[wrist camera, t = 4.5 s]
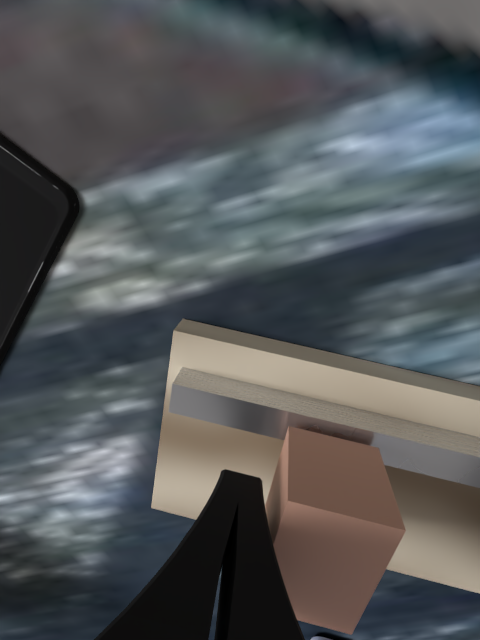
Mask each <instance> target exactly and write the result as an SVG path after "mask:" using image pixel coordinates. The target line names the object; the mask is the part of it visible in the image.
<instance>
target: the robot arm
mask: <svg viewBox="0 0 480 640" xmlns="http://www.w3.org/2000/svg"><path fill="white" fill-rule="evenodd" d="M222 564H223V565H222ZM221 568H222V574H221V584H220V593H219V603H218V612H217V622H216V631H215V639H214V640H305V639H304V636H303V634H302V631H301V629H300V626H299V624H298V621H297V618H296V616H295V613H294V610H293V608H292V605H291V602H290V599H289V596H288V593H287V590H286V587H285V584H284V581H283V578H282V575H281V571H280V568H279V565H278V561H277V558H276V554H275V550H274V546H273V542H272V538H271V534H270V529H269V525H268V520H267V515H266V509H265V503H264V496H263V485H262V480H261V479H260V478H259V477H255V476H251V475H247V474H243V473H239V472H235V471H231V470H227V469H224V470H222V471H221V473H220V477H219V479H218V482H217V484H216V486H215V488H214V490H213V492H212V494H211V496H210V498H209V500H208V501H207V503H206V505H205V506H204V508H203V510H202V511H201V513H200V515H199V516H198V518H197V519H196V521H195V523H194V524H193V526H192V527H191V529H190V530H189V531H188V533H187V534H186V536H185V537H184V538H183V540H182V541H181V543H180V544H179V546H178V547H177V548H176V550H175V551H174V552H173V553H172V555H171V556H170V557H169V559H168V560H167V561H166V562H165V564H164V565H163V566H162V567H161V569H160V570H159V571H158V572H157V574H156V575H155V576H154V577H153V578H152V579H151V581H150V582H149V583H148V584H147V585H146V586H145V587H144V588H143V590H142V591H141V592H140V593H139V594H138V595H137V596H136V598H135V599H134V600H133V601H132V602H131V603H130V604H129V605H128V606H127V607H126V608H125V609H124V610H123V611H122V612H121V613H120V614H119V615H118V616H117V617H116V618H115V619H114V620H113V621H112V622H111V623H110V624H109V625H108V626H107V627H106V628H105V629H104V630H103V631H102V632H101V633H100V634H99V635H98V636H97V637H96V638H95V639H94V640H208V638H209V632H210V626H211V620H212V614H213V608H214V603H215V597H216V591H217V585H218V579H219V575H220V572H221ZM311 640H332V639H329V638H325V637H321V636H315V637H312V638H311Z"/></svg>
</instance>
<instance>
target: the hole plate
mask: <svg viewBox="0 0 480 640" xmlns="http://www.w3.org/2000/svg"><path fill="white" fill-rule="evenodd" d="M182 367H184V368H189V369H193V370H197V371H201V372H206V373H210V374H214V375H218V376H222V377H227V378H231V379H235V380H239V381H244V382H248V383H252V384H256V385H261V386H265V387H269V388H273V389H278V390H282V391H286V392H290V393H295V394H299V395H303V396H307V397H311V398H316V399H320V400H324V401H328V402H333V403H337V404H341V405H345V406H350V407H354V408H358V409H362V410H367V411H371V412H375V413H379V414H383V415H388V416H392V417H396V418H400V419H405V420H409V421H413V422H417V423H422V424H426V425H430V426H434V427H439V428H443V429H447V430H451V431H456V432H460V433H464V434H468V435H472V436H477V437H480V386H476V385H471V384H467V383H463V382H458V381H454V380H450V379H445V378H441V377H436V376H432V375H428V374H423V373H419V372H414V371H410V370H406V369H401V368H397V367H393V366H388V365H384V364H379V363H375V362H371V361H366V360H362V359H357V358H353V357H349V356H344V355H340V354H336V353H331V352H327V351H322V350H318V349H314V348H309V347H305V346H300V345H296V344H292V343H287V342H283V341H279V340H274V339H270V338H265V337H261V336H257V335H252V334H248V333H243V332H239V331H235V330H230V329H226V328H222V327H217V326H213V325H208V324H204V323H200V322H195V321H191V320H186V319H182V321H181V322H180V323H179V324H178V326H177V327H176V328H175V329H174V332H173V339H172V347H171V355H170V363H169V371H168V379H167V387H166V395H165V403H164V410H163V418H162V426H161V434H160V442H159V450H158V458H157V466H156V474H155V482H154V489H153V497H152V505H151V508H154V509H157V510H161V511H165V512H169V513H173V514H177V515H180V516H184V517H188V518H192V519H197V518H198V516H199V515H200V513H201V511H202V510H203V508H204V506H205V505H206V503H207V501H208V500H209V498H210V496H211V494H212V492H213V490H214V488H215V486H216V484H217V482H218V479H219V477H220V473H221V471H222V470H224V469H227V470H231V471H235V472H239V473H243V474H247V475H251V476H255V477H259V478H260V479H261V480H262V485H263V496H264V503H265V504H266V501H267V498H268V494H269V491H270V488H271V484H272V481H273V477H274V474H275V471H276V467H277V464H278V460H279V457H280V454H281V450H282V447H283V444H284V440H281V439H277V438H272V437H268V436H264V435H260V434H256V433H252V432H248V431H244V430H240V429H236V428H231V427H227V426H223V425H219V424H215V423H211V422H207V421H203V420H199V419H195V418H190V417H186V416H182V415H178V414H174V413H170V412H169V405H170V397H171V390H172V383H173V382H174V380H175V378H176V377H177V375H178V373H179V372H180V370H181V368H182ZM384 466H385V469H386V472H387V475H388V478H389V481H390V484H391V487H392V490H393V493H394V496H395V499H396V502H397V505H398V508H399V511H400V514H401V517H402V520H403V523H404V526H405V529H406V532H405V534H404V535H403V537H402V539H401V541H400V543H399V545H398V547H397V549H396V551H395V553H394V555H393V556H392V558H391V560H390V562H389V564H388V566H387V568H386V569H388V570H392V571H395V572H399V573H403V574H407V575H411V576H415V577H418V578H422V579H426V580H430V581H434V582H438V583H442V584H445V585H449V586H453V587H457V588H461V589H465V590H468V591H472V592H476V593H480V488H477V487H473V486H469V485H465V484H461V483H457V482H453V481H449V480H445V479H441V478H436V477H432V476H428V475H424V474H420V473H416V472H412V471H408V470H404V469H400V468H395V467H391V466H387V465H384Z"/></svg>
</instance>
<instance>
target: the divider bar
mask: <svg viewBox="0 0 480 640" xmlns="http://www.w3.org/2000/svg"><path fill="white" fill-rule="evenodd" d="M169 412H170V413H174V414H178V415H182V416H186V417H190V418H195V419H199V420H203V421H207V422H211V423H215V424H219V425H223V426H227V427H231V428H236V429H240V430H244V431H248V432H252V433H256V434H260V435H264V436H268V437H272V438H277V439H281V440H285V437H286V433H287V430H288V427H289V426H290V427H294V428H299V429H303V430H307V431H311V432H315V433H319V434H323V435H328V436H332V437H336V438H340V439H344V440H348V441H352V442H357V443H361V444H365V445H369V446H373V447H377V448H379V450H380V454H381V457H382V460H383V463H384V465H387V466H391V467H395V468H400V469H404V470H408V471H412V472H416V473H420V474H424V475H428V476H432V477H436V478H441V479H445V480H449V481H453V482H457V483H461V484H465V485H469V486H473V487H477V488H480V437H477V436H472V435H468V434H464V433H460V432H456V431H451V430H447V429H443V428H439V427H434V426H430V425H426V424H422V423H417V422H413V421H409V420H405V419H400V418H396V417H392V416H388V415H383V414H379V413H375V412H371V411H367V410H362V409H358V408H354V407H350V406H345V405H341V404H337V403H333V402H328V401H324V400H320V399H316V398H311V397H307V396H303V395H299V394H295V393H290V392H286V391H282V390H278V389H273V388H269V387H265V386H261V385H256V384H252V383H248V382H244V381H239V380H235V379H231V378H227V377H222V376H218V375H214V374H210V373H206V372H201V371H197V370H193V369H189V368H184V367H182V368H181V370H180V372H179V373H178V375H177V377H176V378H175V380H174V382H173V383H172V390H171V397H170V405H169Z"/></svg>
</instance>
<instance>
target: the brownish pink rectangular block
mask: <svg viewBox="0 0 480 640" xmlns="http://www.w3.org/2000/svg"><path fill="white" fill-rule="evenodd" d="M265 509H266V515H267V520H268V525H269V529H270V534H271V538H272V542H273V546H274V550H275V554H276V558H277V561H278V565H279V568H280V571H281V575H282V578H283V581H284V584H285V587H286V590H287V593H288V596H289V599H290V602H291V605H292V608H293V610H294V613H295V616H296V618H297V620H299V621H303V622H307V623H310V624H314V625H318V626H322V627H325V628H329V629H333V630H336V631H340V632H344V633H347V634H351V635H352V633H353V631H354V629H355V627H356V625H357V623H358V621H359V619H360V617H361V616H362V614H363V612H364V610H365V608H366V606H367V604H368V602H369V600H370V598H371V597H372V595H373V593H374V591H375V589H376V587H377V585H378V583H379V581H380V579H381V577H382V576H383V574H384V572H385V570H386V568H387V566H388V564H389V562H390V560H391V558H392V556H393V555H394V553H395V551H396V549H397V547H398V545H399V543H400V541H401V539H402V537H403V535H404V534H405V532H406V529H405V526H404V523H403V520H402V517H401V514H400V511H399V508H398V505H397V502H396V499H395V496H394V493H393V490H392V487H391V484H390V481H389V478H388V475H387V472H386V469H385V466H384V463H383V460H382V457H381V454H380V450H379V448H377V447H373V446H369V445H365V444H361V443H357V442H352V441H348V440H344V439H340V438H336V437H332V436H328V435H323V434H319V433H315V432H311V431H307V430H303V429H299V428H294V427H290V426H289V427H288V430H287V433H286V437H285V440H284V444H283V447H282V450H281V454H280V457H279V460H278V464H277V467H276V471H275V474H274V477H273V481H272V484H271V488H270V491H269V494H268V498H267V501H266V504H265Z"/></svg>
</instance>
